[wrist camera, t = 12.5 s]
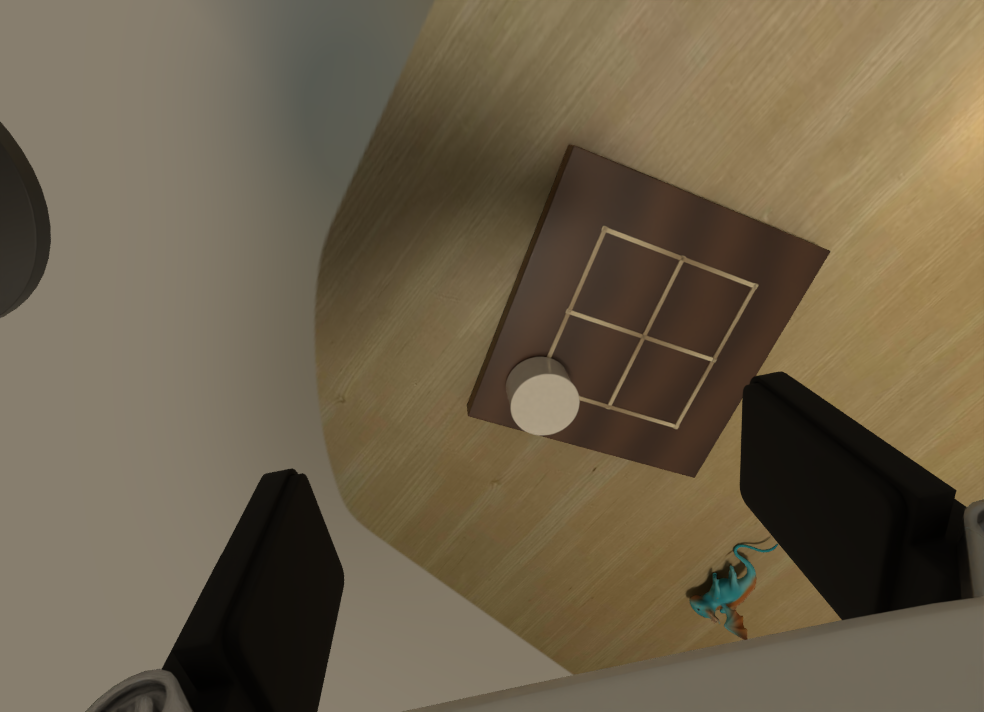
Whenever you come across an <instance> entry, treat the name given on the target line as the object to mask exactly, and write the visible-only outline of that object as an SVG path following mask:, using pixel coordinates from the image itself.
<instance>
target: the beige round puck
mask: <svg viewBox="0 0 984 712" xmlns="http://www.w3.org/2000/svg"><path fill="white" fill-rule="evenodd" d="M506 395H507V399H508V403H509V407H510V411H511V415H512V417H513V420H514V421H515V423H516V424H517V425H518V426H519V427H520V428H521V429H523V430H524V431H526V432H528V433H531V434H534V435H550V434H554V433H557V432H559V431H561V430H563V429H564V428H566V427H567V426H568V425H569V424H570V423H571V422H572V421H573V420H574V418H575V416H576V415H577V412H578V409H579V403H580V400H579V394H578V391H577V389H576V387H575V385H574V384H573V382H572V380H571V378H570V376H569V374H568V372H567V371H566V369H565V368H564V366H563V365H562V364H560V363H559V362H558V361H556V360H554V359H551V358H547V357H533V358H529V359H527V360H524V361H523V362H521V363H519V364H518V365H517V366H516V367H515V368H514V369H513V370H512V371H511V373H510V374H509V376H508V378H507V381H506Z"/></svg>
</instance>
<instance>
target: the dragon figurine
mask: <svg viewBox="0 0 984 712" xmlns="http://www.w3.org/2000/svg"><path fill="white" fill-rule="evenodd" d="M777 545H778V544H776V545H775V546H774V547H772V548H770V549H766V550H761V549H757V548H755V547H752V546H748V545H744V544H740V545H737V546H735V548H734V554H735V555H736V557H737V558H738V559H740V560H741V561H742V562H743V563H744V564H745V565H746V567H747V574H746V575H745V576H744V577H742V578H740V579H736V572H734V567H733V566H731V565H730V571H729V577H728V579H727V578H721V579H719V580H718V579H717V578H716V576H717V573H713V584H712V586H711V589H710V591H709V592H707V593H706V594H704V595H703V596H701V595H694V596H692V597H691V598H690V600H689V601H690V604H691V606H692V608H693V609H694V611H695V612H697V613H698V614H699V615H701V616H703V617H706V618H710V619H711V621H713V622H714V624H715V623H716V622H717V621H718V622H719V619H718V618H717V617H716V616H715V611H716V610H717V609H718V610H719V609H720V612H721V613H726V615H727V620H726V622H725V624H724V627H725V628H726V629H727V630H729V631H730V632H732V633H734V634H735V635H737V636H738V637H740V638H742V639H744V640H747V629H746V628H744V626H743V616H740V615H739V614H738V613H737V612H736V610H735V609H736V607H737V605H740V603H743V602H744V600H745V599H746V598H747V597H748V596H749V595H750V594H751V593H752V591H753V590H754V589H755V584H756V573H755V569H754V567H753V566H752V564H751V563H750V562H749V561H748V560H746V559H745V558H743V557H742V556H740V555H739V554H738V553H737V549H738V548H739V547H747V548H751V549H754V550H756V551H760V552H770V551H772V550H774V549H775V548H776V547H777ZM719 624H720V622H719Z"/></svg>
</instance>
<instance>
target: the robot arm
mask: <svg viewBox="0 0 984 712" xmlns="http://www.w3.org/2000/svg"><path fill="white" fill-rule="evenodd" d="M740 491H741V495H742V498H743V500H744V502H745V503H746V505H747V506H748V507H749V508H750V510H751V511H752V512H753V513H754V515H755V516H756V517H757V518H758V519H759V521H760V522H761V523H762V524H763V525H764V527H765V528H766V529H767V530H768V531H769V533H770V534H771V535H772V536H773V537H774V539H775V540H776V541H777V542H778V543H779V545H780V546H781V547H782V548H783V549H784V551H785V552H786V553H787V554H788V555H789V557H790V558H791V559H792V560H793V561H794V563H795V564H796V565H797V566H798V567H799V569H800V570H801V571H802V572H803V573H804V575H805V576H806V577H807V578H808V580H809V581H810V582H811V583H812V584H813V586H814V587H815V588H816V589H817V590H818V592H819V593H820V594H821V595H822V596H823V598H824V599H825V600H826V601H827V602H828V604H829V605H830V606H831V607H832V608H833V610H834V611H835V612H836V613H837V614H838V616H839V617H840V618H841V619H842V620H841V621H836V622H831V623H826V624H821V625H816V626H811V627H806V628H801V629H796V630H791V631H786V632H782V633H777V634H772V635H767V636H762V637H757V638H752V639H747V640H742V641H737V642H732V643H727V644H722V645H717V646H712V647H707V648H702V649H697V650H693V651H688V652H683V653H678V654H673V655H668V656H664V657H659V658H654V659H649V660H644V661H639V662H635V663H630V664H625V665H620V666H615V667H610V668H606V669H601V670H596V671H591V672H587V673H582V674H577V675H572V676H567V677H563V678H558V679H553V680H549V681H544V682H539V683H534V684H529V685H525V686H520V687H515V688H510V689H506V690H501V691H497V692H492V693H487V694H482V695H478V696H473V697H468V698H464V699H459V700H454V701H450V702H445V703H441V704H436V705H431V706H427V707H422V708H417V709H412V710H408V711H403V712H984V499H983V500H980V501H976V502H973V503H971V504H970V505H969V506H968V507H966V506H964V505H963V504H961V503H960V502H959V501H957V500H956V499H954V498H955V494H956V490H955V489H954V488H952V487H951V486H949V485H948V484H946V483H945V482H943V481H942V480H940V479H939V478H938V477H936V476H935V475H933V474H932V473H930V472H929V471H927V470H926V469H924V468H923V467H922V466H920V465H919V464H917V463H916V462H914V461H913V460H911V459H910V458H908V457H907V456H906V455H904V454H903V453H901V452H900V451H898V450H897V449H895V448H894V447H892V446H891V445H890V444H888V443H887V442H885V441H884V440H882V439H881V438H879V437H878V436H876V435H875V434H874V433H872V432H871V431H869V430H868V429H866V428H865V427H863V426H862V425H860V424H859V423H858V422H856V421H855V420H853V419H852V418H850V417H849V416H847V415H846V414H844V413H843V412H842V411H840V410H839V409H837V408H836V407H834V406H833V405H831V404H830V403H828V402H827V401H826V400H824V399H823V398H821V397H820V396H818V395H817V394H815V393H814V392H812V391H811V390H810V389H808V388H807V387H805V386H804V385H802V384H801V383H799V382H798V381H796V380H795V379H794V378H792V377H791V376H789V375H788V374H786V373H784V372H775V373H770V374H765V375H760V376H755V377H753V378H752V379H751V381H750V384H749V385H746V386H745V387H744V389H743V400H742V432H741V464H740ZM343 587H344V572H343V568H342V565H341V563H340V560H339V558H338V555H337V552H336V550H335V547H334V545H333V542H332V540H331V537H330V534H329V532H328V529H327V527H326V524H325V522H324V519H323V516H322V514H321V511H320V509H319V506H318V504H317V501H316V498H315V496H314V493H313V491H312V488H311V486H310V483H309V480H308V478H307V476H306V475H305V474H303V473H302V474H298V473H297V472H296V470H294V469H287V470H282V471H277V472H272V473H267V474H264V475H263V476H262V478H261V480H260V482H259V483H258V485H257V487H256V489H255V491H254V493H253V495H252V497H251V499H250V501H249V503H248V505H247V507H246V509H245V511H244V512H243V514H242V516H241V518H240V520H239V522H238V524H237V526H236V528H235V530H234V532H233V534H232V536H231V538H230V539H229V542H228V543H227V545H226V547H225V549H224V551H223V553H222V555H221V556H220V558H219V560H218V562H217V564H216V566H215V567H214V569H213V572H212V574H211V575H210V577H209V579H208V581H207V583H206V585H205V587H204V589H203V591H202V592H201V594H200V596H199V598H198V600H197V602H196V604H195V606H194V608H193V610H192V612H191V614H190V616H189V618H188V620H187V622H186V623H185V625H184V627H183V629H182V631H181V633H180V635H179V637H178V639H177V641H176V643H175V644H174V647H173V648H172V650H171V652H170V654H169V656H168V658H167V660H166V662H165V664H164V666H163V668H162V670H161V669H157V670H149V671H144V672H141V673H139V674H136V675H134V676H131V677H129V678H127V679H125V680H124V681H122V682H120V683H119V684H117V685H115V686H114V687H112V688H111V689H110V690H108V691H107V692H106V693H105V694H104V695H102V696H101V697H100V698H98V699H97V700H96V701H95V702H94V703H93V705H91V706H90V707H89V708H88V710H87V711H86V712H317V711H318V706H319V701H320V696H321V692H322V687H323V682H324V677H325V673H326V668H327V663H328V659H329V654H330V649H331V644H332V639H333V634H334V630H335V625H336V621H337V616H338V611H339V606H340V602H341V597H342V592H343Z"/></svg>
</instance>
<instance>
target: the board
mask: <svg viewBox="0 0 984 712" xmlns="http://www.w3.org/2000/svg"><path fill="white" fill-rule="evenodd" d="M829 253H830V251H829V250H827V249H824V248H822V247H820V246H817V245H815V244H812V243H810V242H807V241H805V240H803V239H800V238H798V237H795V236H793V235H791V234H788V233H786V232H783V231H781V230H778V229H776V228H774V227H771V226H769V225H766V224H764V223H761V222H759V221H757V220H754V219H752V218H749V217H747V216H745V215H742V214H740V213H737V212H735V211H732V210H730V209H728V208H725V207H723V206H720V205H718V204H715V203H713V202H711V201H708V200H706V199H703V198H701V197H699V196H696V195H694V194H691V193H689V192H686V191H684V190H682V189H679V188H677V187H674V186H672V185H670V184H667V183H665V182H662V181H660V180H657V179H655V178H653V177H650V176H648V175H645V174H643V173H640V172H638V171H636V170H633V169H631V168H628V167H626V166H624V165H621V164H619V163H616V162H614V161H611V160H609V159H607V158H604V157H602V156H599V155H597V154H594V153H592V152H590V151H587V150H585V149H582V148H580V147H578V146H575V145H569V146H568V148H567V150H566V153H565V156H564V158H563V161H562V163H561V166H560V168H559V171H558V174H557V176H556V179H555V181H554V184H553V186H552V189H551V192H550V194H549V197H548V199H547V202H546V204H545V207H544V210H543V212H542V215H541V217H540V220H539V222H538V225H537V228H536V230H535V233H534V235H533V238H532V240H531V243H530V246H529V248H528V251H527V253H526V256H525V258H524V261H523V264H522V266H521V269H520V271H519V274H518V276H517V279H516V282H515V284H514V287H513V289H512V292H511V294H510V297H509V300H508V302H507V305H506V307H505V310H504V312H503V315H502V318H501V320H500V323H499V325H498V328H497V330H496V333H495V336H494V338H493V341H492V343H491V346H490V348H489V351H488V354H487V356H486V359H485V361H484V364H483V366H482V369H481V372H480V374H479V377H478V379H477V382H476V384H475V387H474V390H473V392H472V395H471V397H470V400H469V402H468V405H467V411H468V416H470V417H473V418H477V419H481V420H484V421H488V422H492V423H495V424H499V425H503V426H506V427H510V428H514V429H517V430H521V431H524V430H523V429H521V428H520V427H519V426H518V425H517V424H516V423H515V421H514V420H513V417H512V415H511V411H510V407H509V403H508V399H507V395H506V381H507V378H508V376H509V374H510V373H511V371H512V370H513V369H514V368H515V367H516V366H517V365H518V364H519V363H521V362H523V361H524V360H527V359H529V358H533V357H547V358H551V359H554V360H556V361H558V362H559V363H560V364H562V365H563V366H564V368H565V369H566V371H567V372H568V374H569V376H570V378H571V380H572V382H573V384H574V385H575V387H576V389H577V391H578V394H579V400H580V403H579V409H578V412H577V415H576V416H575V418H574V420H573V421H572V422H571V423H570V424H569V425H568V426H567V427H566V428H564V429H563V430H561V431H559V432H557V433H554V434H550V435H539V436H543V437H547V438H550V439H554V440H558V441H561V442H565V443H569V444H572V445H576V446H580V447H583V448H587V449H591V450H594V451H598V452H602V453H605V454H609V455H613V456H616V457H620V458H624V459H627V460H631V461H635V462H638V463H642V464H646V465H649V466H653V467H657V468H660V469H664V470H668V471H671V472H675V473H679V474H682V475H686V476H690V477H693V478H695V476H696V474H697V473H698V471H699V469H700V468H701V466H702V464H703V463H704V461H705V459H706V458H707V456H708V454H709V453H710V451H711V449H712V448H713V446H714V444H715V443H716V441H717V439H718V438H719V436H720V434H721V433H722V431H723V429H724V428H725V426H726V424H727V423H728V421H729V419H730V418H731V416H732V414H733V413H734V411H735V410H736V408H737V406H738V405H739V403H740V401H741V400H742V398H743V389H744V387H745V386H746V385H749V384H750V381H751V379H752V378H753V377H755V376H756V375H757V373H758V371H759V370H760V368H761V366H762V365H763V363H764V361H765V360H766V358H767V356H768V355H769V353H770V351H771V350H772V348H773V346H774V345H775V343H776V341H777V340H778V338H779V336H780V335H781V333H782V331H783V330H784V328H785V326H786V325H787V323H788V321H789V320H790V318H791V316H792V315H793V313H794V311H795V310H796V308H797V306H798V305H799V303H800V301H801V300H802V298H803V296H804V295H805V293H806V291H807V290H808V288H809V286H810V285H811V283H812V281H813V280H814V278H815V276H816V275H817V273H818V271H819V270H820V268H821V266H822V265H823V263H824V261H825V260H826V258H827V256H828V255H829ZM525 432H526V431H525Z"/></svg>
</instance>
